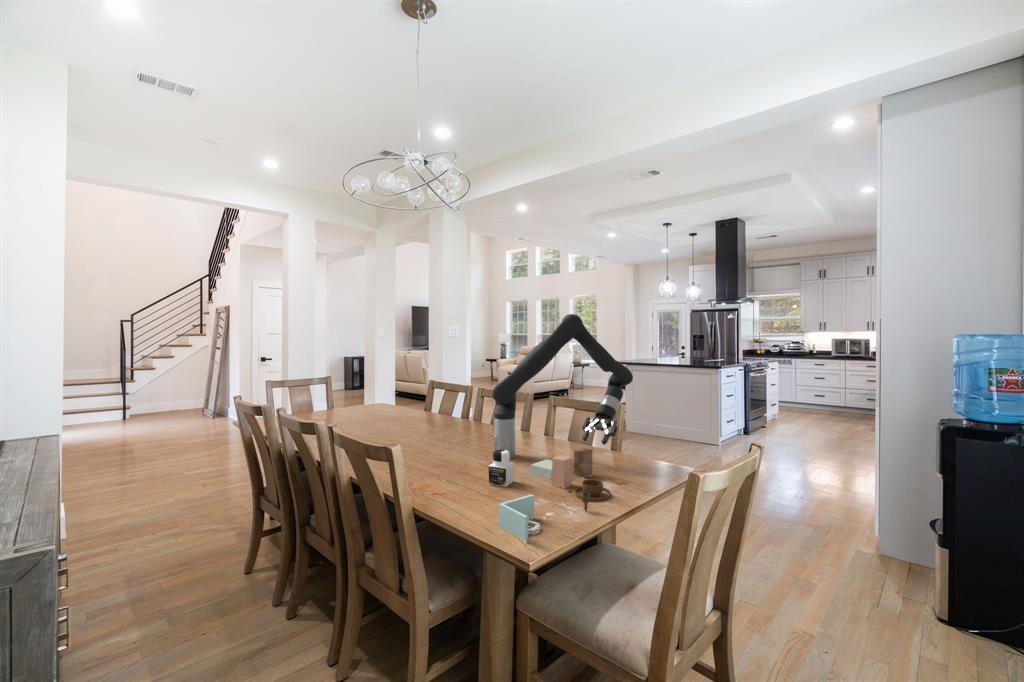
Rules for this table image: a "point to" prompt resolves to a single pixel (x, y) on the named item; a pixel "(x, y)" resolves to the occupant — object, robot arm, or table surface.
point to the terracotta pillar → (562, 471)
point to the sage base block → (542, 468)
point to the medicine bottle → (501, 469)
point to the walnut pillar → (583, 462)
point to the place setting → (591, 491)
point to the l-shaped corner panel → (518, 516)
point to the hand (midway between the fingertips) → (593, 441)
